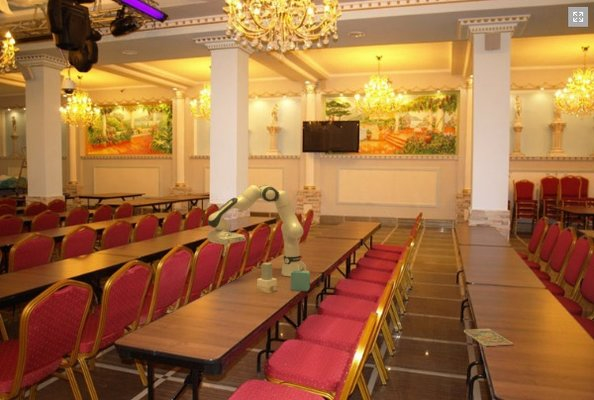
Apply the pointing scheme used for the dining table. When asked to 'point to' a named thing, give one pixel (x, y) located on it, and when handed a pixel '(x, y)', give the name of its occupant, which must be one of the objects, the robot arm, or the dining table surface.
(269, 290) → the tower block lower
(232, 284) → the dining table surface
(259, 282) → the tower block upper
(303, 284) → the data package
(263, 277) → the grey column
